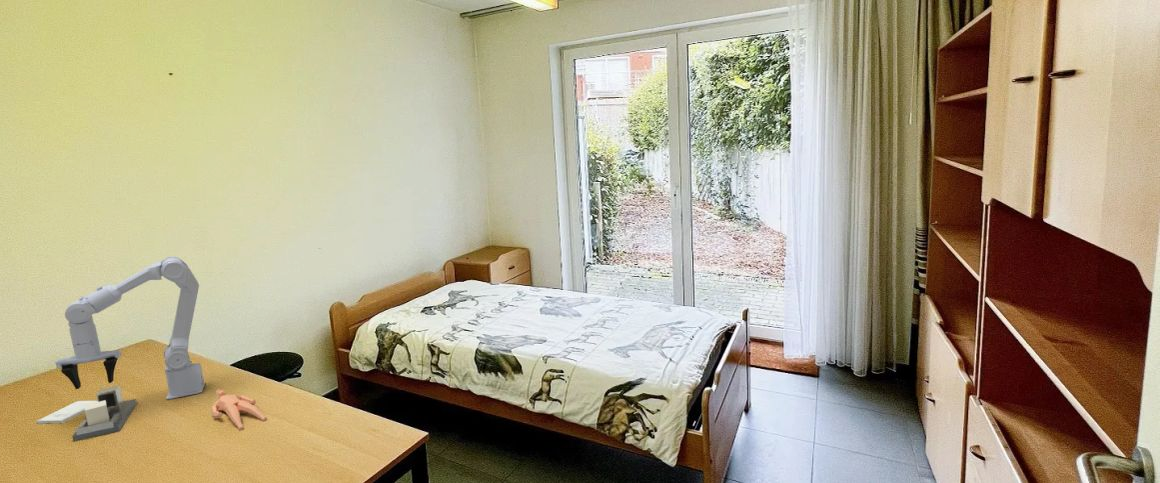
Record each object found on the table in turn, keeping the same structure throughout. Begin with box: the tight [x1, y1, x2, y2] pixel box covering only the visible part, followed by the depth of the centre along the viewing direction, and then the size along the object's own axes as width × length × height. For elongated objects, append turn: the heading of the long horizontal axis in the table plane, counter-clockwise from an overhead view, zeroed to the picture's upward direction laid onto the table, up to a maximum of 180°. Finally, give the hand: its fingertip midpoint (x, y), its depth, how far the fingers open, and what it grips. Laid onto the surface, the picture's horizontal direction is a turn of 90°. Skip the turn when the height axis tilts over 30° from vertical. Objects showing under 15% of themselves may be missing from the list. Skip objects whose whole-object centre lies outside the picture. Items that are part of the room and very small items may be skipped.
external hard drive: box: [35, 400, 98, 425], centre depth 168 cm, size 2×8×12 cm
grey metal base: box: [71, 384, 138, 442], centre depth 161 cm, size 10×20×8 cm, turn 27°
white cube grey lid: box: [84, 400, 110, 426], centre depth 156 cm, size 5×4×6 cm
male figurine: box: [210, 388, 268, 431], centre depth 162 cm, size 11×5×25 cm
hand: (94, 384), depth 165 cm, fingers open, 7 cm apart
